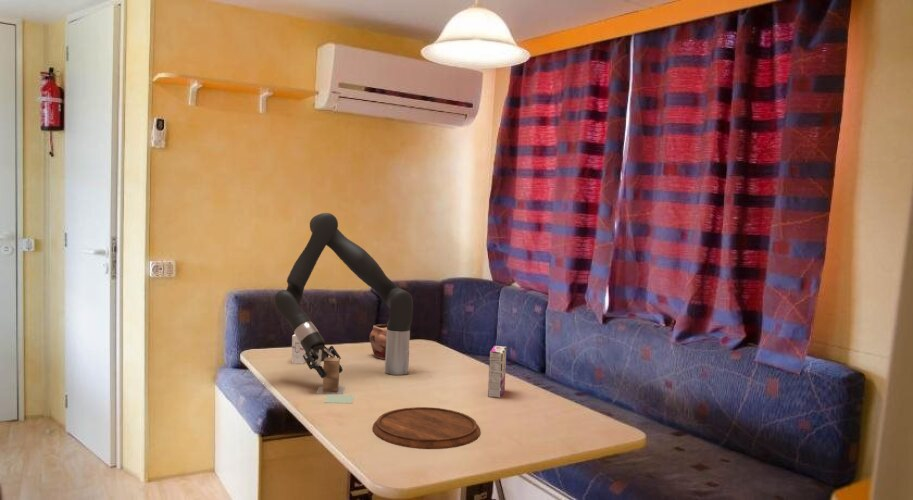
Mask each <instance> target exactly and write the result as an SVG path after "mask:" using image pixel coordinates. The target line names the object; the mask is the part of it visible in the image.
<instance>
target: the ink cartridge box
mask: <svg viewBox="0 0 913 500" xmlns="http://www.w3.org/2000/svg"><path fill="white" fill-rule="evenodd" d="M305 353H306V352H305V350H304V349H303V347H302V345H301V344H300V342H299V341H298V339H297V337H296V335H295V333H293V335H291V364H292V365H293V364H296V365H304V364H305V363H306V361H305V360H304V358H303V355H304V354H305Z"/></svg>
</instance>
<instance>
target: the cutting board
mask: <svg viewBox="0 0 913 500" xmlns="http://www.w3.org/2000/svg"><path fill="white" fill-rule="evenodd" d="M372 433H373V434H374V435H375V436H376V437H377V438H378V439H380V440H382V441H384V442H386V443H389V444H392V445H395V446H399V447H404V448H405V447H406V448H412V449H419V450H420V449H421V450H440V449H441V450H442V449H452V448H458V447H461V446H466V445H469V444H471V443H473V442H474V441H476V440H477V439H478V438H479V437H480V436H481V428H480V426H479V425H478V423H477V421H476V420H475V419H474V418H473V417H472V416H470V415H468V414H465V413H463V412H459V411H456V410H452V409H448V408H440V407H429V406H428V407H426V406H425V407H424V406H423V407H422V406H420V407H419V406H417V407H414V406H413V407H405V408H404V407H403V408H397V409H394V410H390V411H387V412H385V413H382V414H381V415H379V416H378V418H377V419H376V420H375V421H374V423H373V425H372Z"/></svg>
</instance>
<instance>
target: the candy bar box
mask: <svg viewBox="0 0 913 500" xmlns="http://www.w3.org/2000/svg"><path fill="white" fill-rule="evenodd" d="M488 361H489V362H488V385H487V386H488V389H487V397H488V398H495V399H501V398H502V396H503V394H504V392H505V390H506V389H505V388H506V387H505V386H506V369H507V368H506V367H507V366H506V364H507V363H506V362H507V346H501V345H493V347H492V349H490V351H489V359H488Z"/></svg>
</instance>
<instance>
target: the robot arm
mask: <svg viewBox="0 0 913 500" xmlns="http://www.w3.org/2000/svg"><path fill="white" fill-rule="evenodd" d="M338 227H339V221H338V218H336V216H335V215H334V214H332V213H330V212H323V213H318V214H316V215H314V216H312V218H311V220H310V221H309V229H310V230H309V231H311V236H310V238H309V240H308V242H307V244H306V246H305V247H304V249H303V251H302V252H300V255H299V256H298V258H296V261H295V262H294V264H293V266H292V268H291V269H290V272H289V274H288V276H287V278H286V283H287V287H286V290H285V289H284V290H279V291H278V292H276V294H274V298H273V301H274V302H273V303H274V305H275V307H276V308H277V310H278V311H279V313H280V314H281V315H282V316H283V318H284V319H285V320H286V321H287V323H288V325H289V326H290V328H291V329H292V331H293V334H295V335H296V337H297V339H298V341H299V342H300V344H301V345H302V347H303V349H304V350H305V352H306V353H305V354H304V355H303V358H304V360H305V361H306V362H305V363H306V365H307V367H308V368H309V370H314V371H316V373H317V374H318V375H319V377H320V378H321V379H323V378H324V377H325V376H326V375H327V374H326V372H325V371H324V366H322V365H321V363H322V362H324V359H325V358H326V357H329V358H340V360H341V359H342V357H341V356H340V354H339V353H338V352H337V350H336V349H335V347H334V346H333V345H330V347H327V346H325V343H326V342H325V339H324V338H323V336H322V335H321V334H320V332H319V330H318V329H317V327H316V325H315V324H314V323H313V322H312V320H311V319H310V317H309V315H307V313H306V312H305V311H304V310H303V309H302V308H301V307H300V303H301V301H302V297H303V294H304V290H305V286H306V284H307V283H308V281H309V278H310V277H311V274H312V272H313V271H314V268H315V266H316V265H317V262H318V260H319V258H320V257H321V254H322V253H323V252H324V249H325V248H326V247H328V248H330V250H332V251H333V252H334V254H336V256H337V257H338V258H339V260H341V262H343V263H344V264H345V265H346V267H347V268H348V269H350V271H351V272H352V273H353V274H354V275H355V276H356V277H358V278H359V279H360V280H361V281H362V282H363V283H364V284H366V285H367V286H368V287H370V288H371V289H372V290H374V291H375V293H376V294H378V296H379V297H380V298H381V300H382V301H383V302H384V303H385V304H386V306H387V307H388V308H389V319H388V321H387V324H386V325H387V336H386V358H385V359H384V360H385V362H384V365H385V366H384V373H385V374H387V375H392V376H395V375H396V376H402V375H409V364H410V363H409V361H410V340H411V325H412V323H413V312H414V299H413V297H412V295H411V294H410V293H409V292H408V290H407V291H406V290H404V289H403V288H401V287H399V286H398V285H397V284H395V283H394V282H393V281H392V280H391V279H390V278H389V277H388V276H387V275H386V274H385V271H384V270H383V269H382V267H381V266H380V264H378V262H377V261H376V260H375V259H374V258H373V256H371V255H370V254H369V253H368V252H367V251H366V249H364V248H363V247H361V246H360V245H358V244H356V243H355V242H353V241H352V240H350V239H349V238H348V237H347V236H345V235H344V234H343V233H342V232H341V231H340V230H339V228H338ZM343 370H344V369H343V367H342V365H341V363H340V364H339V374H341V373H342V372H343Z"/></svg>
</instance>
